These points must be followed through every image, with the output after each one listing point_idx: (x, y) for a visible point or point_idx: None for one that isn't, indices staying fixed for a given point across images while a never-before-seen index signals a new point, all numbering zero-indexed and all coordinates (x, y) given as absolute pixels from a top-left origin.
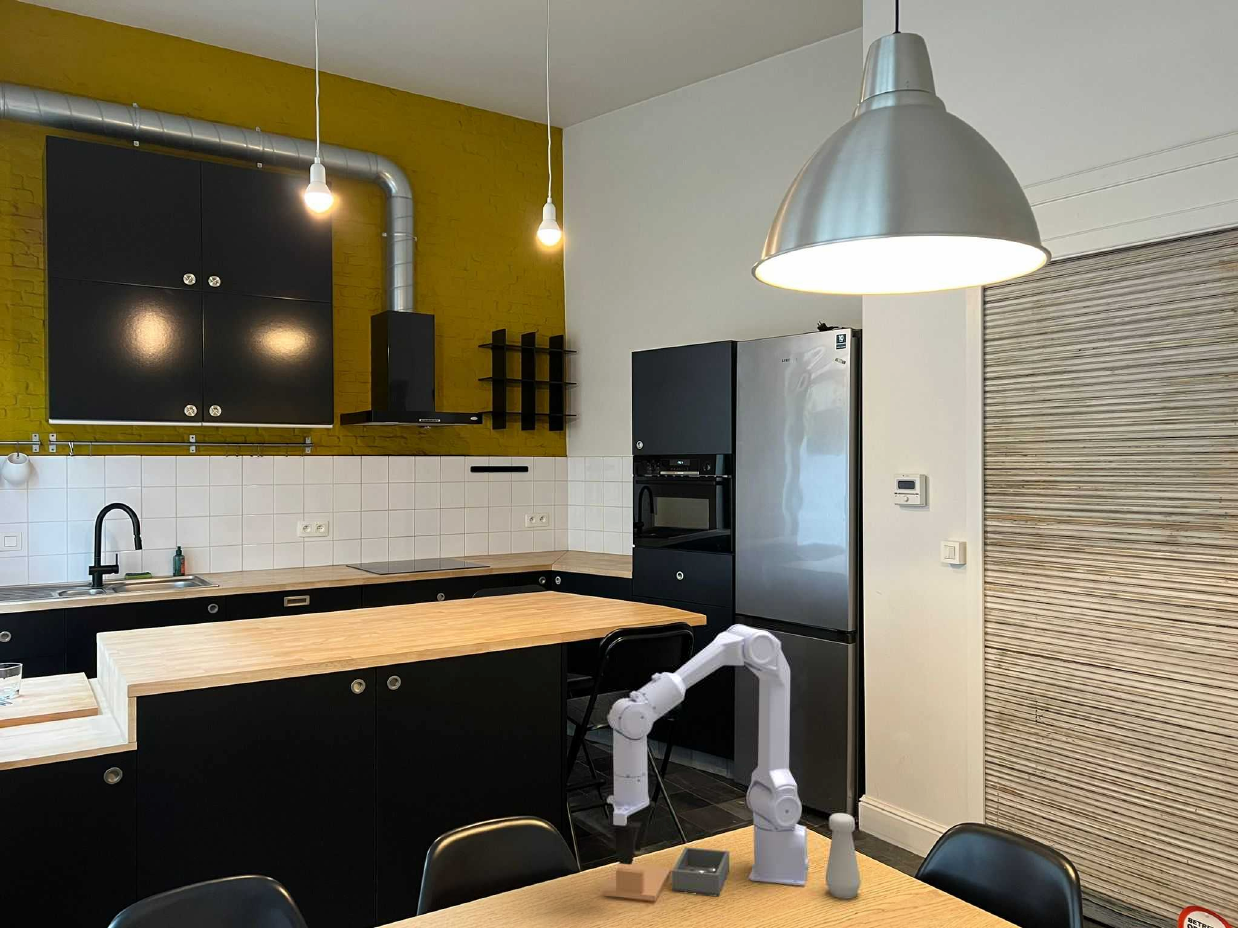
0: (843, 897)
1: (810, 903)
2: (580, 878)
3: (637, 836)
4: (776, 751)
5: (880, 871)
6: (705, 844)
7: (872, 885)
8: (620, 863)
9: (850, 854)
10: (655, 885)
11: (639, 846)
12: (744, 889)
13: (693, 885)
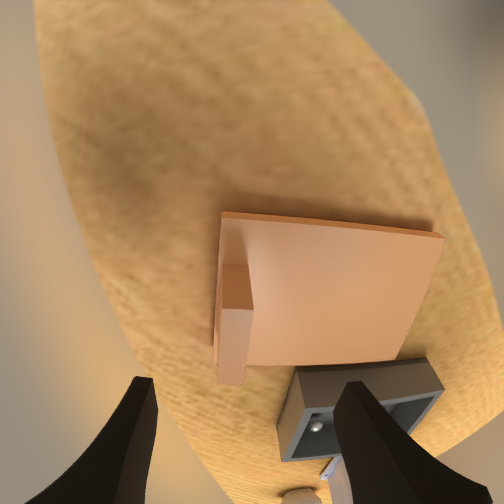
0: (284, 495)
1: (265, 484)
2: (378, 99)
3: (350, 433)
4: None
5: None
6: (499, 354)
7: (321, 498)
8: (133, 379)
9: None
10: (284, 353)
11: (336, 404)
12: None
13: (288, 412)
